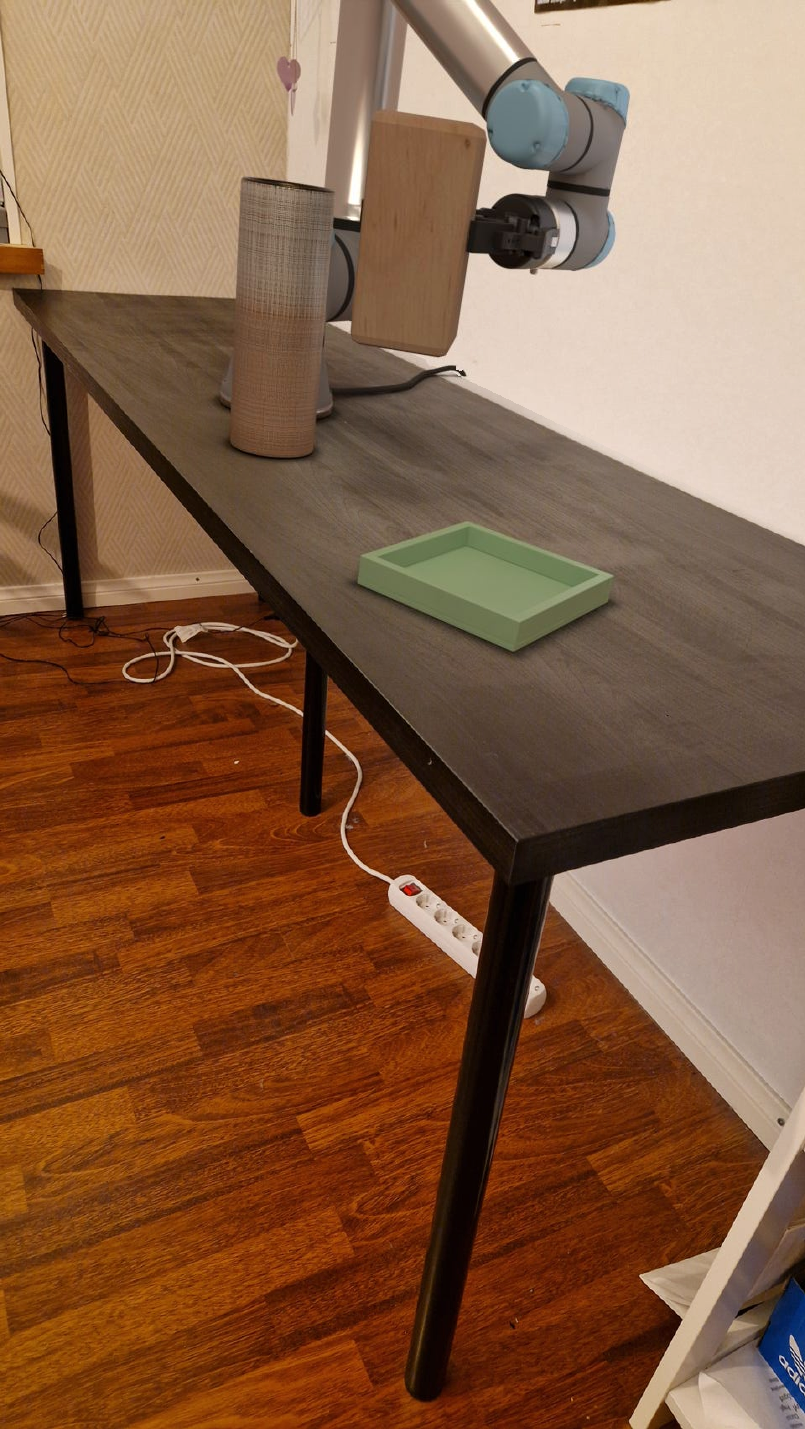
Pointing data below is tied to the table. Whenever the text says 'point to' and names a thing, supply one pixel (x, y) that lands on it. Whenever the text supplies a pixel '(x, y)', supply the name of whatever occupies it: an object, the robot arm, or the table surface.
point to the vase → (279, 315)
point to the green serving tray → (486, 583)
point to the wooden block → (416, 231)
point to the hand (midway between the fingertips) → (415, 225)
